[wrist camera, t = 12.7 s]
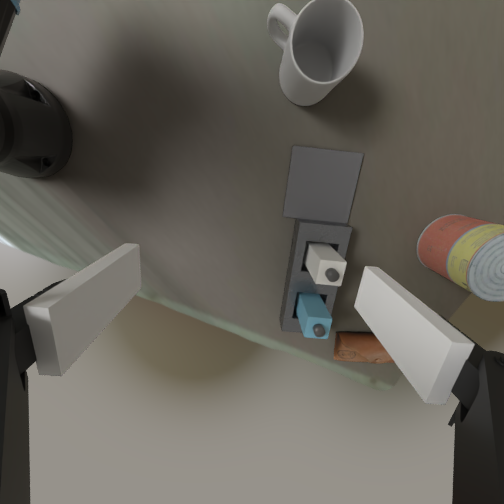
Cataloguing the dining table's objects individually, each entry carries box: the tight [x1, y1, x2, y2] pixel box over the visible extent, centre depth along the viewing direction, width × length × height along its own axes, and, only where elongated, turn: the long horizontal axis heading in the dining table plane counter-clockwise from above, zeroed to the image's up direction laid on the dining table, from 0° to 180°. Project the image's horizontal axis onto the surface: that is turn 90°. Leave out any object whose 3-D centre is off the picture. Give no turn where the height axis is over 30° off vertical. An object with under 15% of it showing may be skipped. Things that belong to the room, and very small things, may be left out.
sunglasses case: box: [334, 332, 395, 363], centre depth 54 cm, size 18×7×7 cm
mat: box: [283, 146, 364, 223], centre depth 43 cm, size 12×12×1 cm
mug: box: [267, 0, 364, 106], centre depth 32 cm, size 12×8×11 cm
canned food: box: [417, 214, 504, 302], centre depth 41 cm, size 11×11×12 cm
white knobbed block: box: [303, 241, 347, 286], centre depth 42 cm, size 4×4×11 cm
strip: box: [280, 218, 352, 333], centre depth 47 cm, size 22×9×4 cm, turn 174°
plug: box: [294, 292, 332, 339], centre depth 45 cm, size 4×4×11 cm
